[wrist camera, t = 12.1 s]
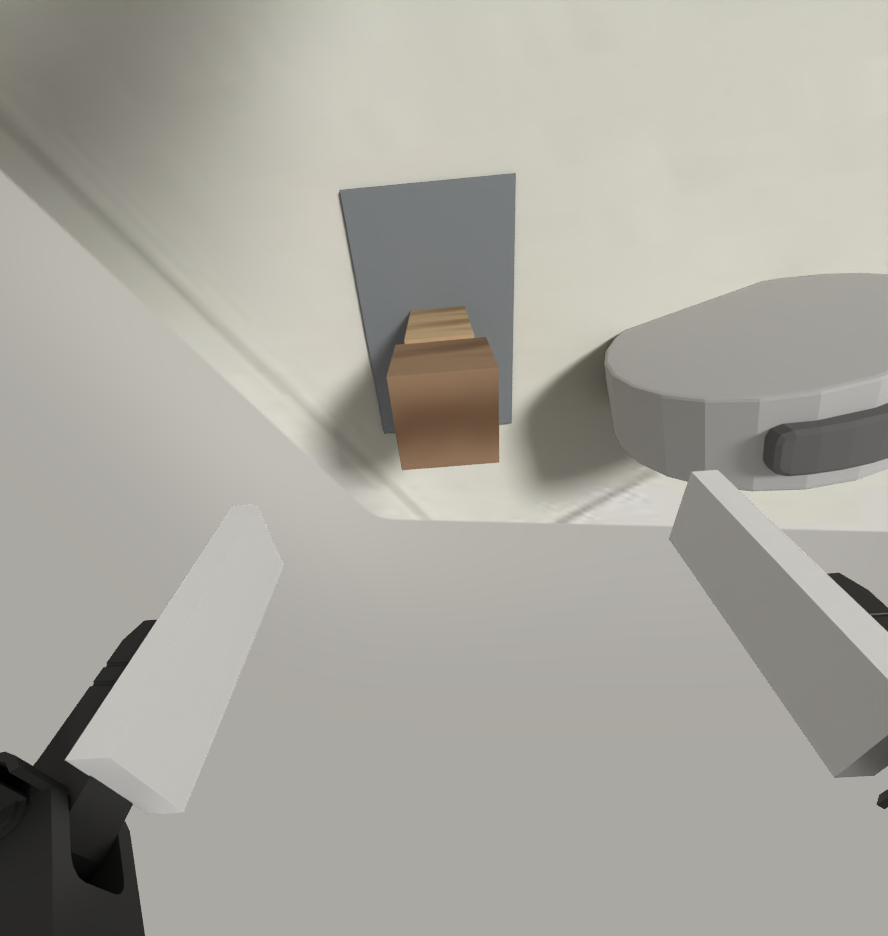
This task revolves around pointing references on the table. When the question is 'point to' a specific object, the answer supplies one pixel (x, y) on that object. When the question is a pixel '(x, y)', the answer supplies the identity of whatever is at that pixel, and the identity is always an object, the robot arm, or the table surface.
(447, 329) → the oak block upper
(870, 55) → the table surface
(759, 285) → the alarm clock
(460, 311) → the oak block lower
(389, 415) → the slate mat
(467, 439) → the walnut cube
